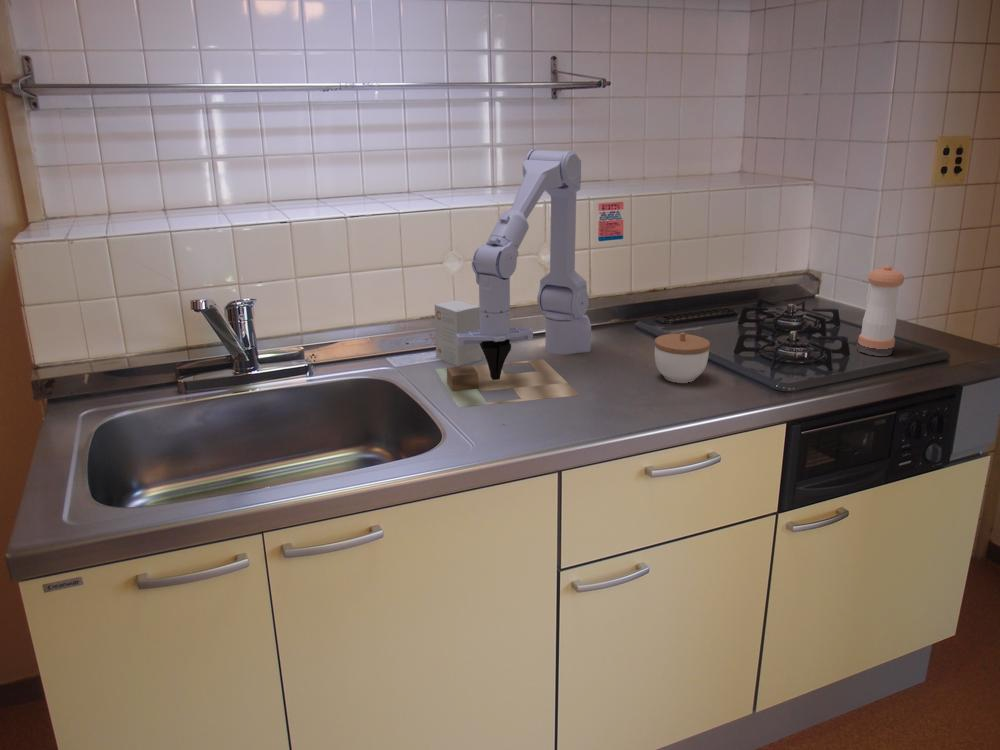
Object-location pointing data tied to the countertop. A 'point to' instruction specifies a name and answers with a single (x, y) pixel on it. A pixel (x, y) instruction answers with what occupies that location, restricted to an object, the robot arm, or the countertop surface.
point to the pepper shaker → (881, 309)
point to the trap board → (512, 385)
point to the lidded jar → (681, 356)
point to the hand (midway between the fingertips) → (495, 378)
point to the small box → (456, 332)
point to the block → (462, 378)
